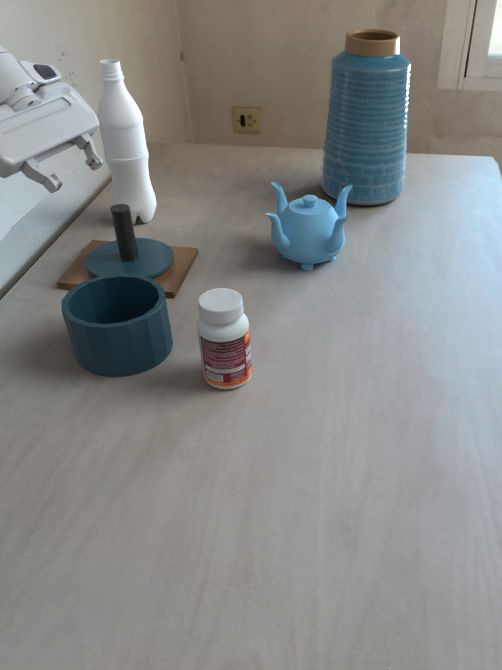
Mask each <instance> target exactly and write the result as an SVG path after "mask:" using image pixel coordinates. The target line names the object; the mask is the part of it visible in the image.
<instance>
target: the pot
mask: <svg viewBox="0 0 502 670" xmlns="http://www.w3.org/2000/svg"><path fill="white" fill-rule="evenodd" d="M60 307H61V309H60V310H61V314H62V318H63V321H64V325H65V327H66V331H67V335H68V337H69V341H70V344H71V348H72V351H73V354H74V357H75V358H76V360H77V362H78V364H79V365H80V366H81V367H82V368H83V369H85V370H86V371H88V372H90V373H92V374H95V375H99V376H103V377H115V378H116V377H129V376H134V375H137V374H141V373H144V372H146V371H149V370H151V369H153V368H155V367H157V366H158V365H160V364H161V363H163V362H164V361H165V360H166V359H167V358H168V356H169V355H170V354H171V352H172V350H173V345H174V341H173V335H172V327H171V322H170V317H169V309H168V303H167V297H165V293H164V288H163V287H162V286H161V285H159V284H158V283H157V282H156V281H155V280H153V279H150V278H147V277H144V276H141V275H135V274H113V275H104V276H99V277H96V278H93V279H90V280H87V281H84V282H82V283H80V284H79V285H77V286H75V287H74V288H72V289H68V291H67V292H66V294H65V295H64V296H63V298H62V299H61V306H60Z"/></svg>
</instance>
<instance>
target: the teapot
mask: <svg viewBox="0 0 502 670" xmlns="http://www.w3.org/2000/svg"><path fill="white" fill-rule="evenodd" d="M270 184H271V186H272V187H273V189H274V192H275V195H276V213H274V212H273V213H271V212H267V213H264V215H265V216H267V217H268V218H269V219H270V223H271V226H270V227H271V228H270V237H271V238H270V239H271V241H272V243H273V244H274V246H275V248H276V250H277V251H278V252H279V253H280V254H281V256H282V258H284V259H288V260H289V261H292V262H295V263H298V264H301V265H300V266H301V267H300V269H302V270H304V271H312V270H313V269H314V268H315V266H314V265H315V264H322V263H326V262H328V261H329V262H333V261H336V259H337V255H338V254H339V253H340V252H341V251H342V250H343V248H344V247H345V244H346V239H345V237H346V236H345V230H344V226H345V222H346V221H348V220H349V217H347V204H346V199H347V195H348V193H349V191H350V190H351V188H352V185H349V186H346V187H345V188H344V189H342V191H341V192H340V194H339V197H338V200H336V204H335V207H333V206H332V204H330V202H328V201H326V200H324V199H322V198H319V197H317V196H316V195H314V194H305V195H303V196H302V197H300V198H296V199H294V200H292V201H290V202H289V203H288V201H287V200H288V199H287V197H286V194H285V191H284V189H283V187H282V186H281V185H280V184H279V183H277V182H275V181H271V182H270Z"/></svg>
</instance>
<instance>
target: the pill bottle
mask: <svg viewBox="0 0 502 670" xmlns="http://www.w3.org/2000/svg"><path fill="white" fill-rule="evenodd" d="M197 307H198V314H199V318H198V319H197V322H196V330H197V338H198V345H199V352H200V357H201V366H202V373H203V377H204V380H205V382H206V383H207V385H209V386H211V387H213V388H215V389H219V390H233V389H237V388H241V387H243V386H244V385H246V384H247V383H248V382H249V381H250V380H251V378H252V375H253V366H252V365H253V364H252V350H251V335H250V324H249V323H250V322H249V319H248V316H247V315H246V314H245V313H244V301H243V296H242V295H241V294H240V293H239V291H237V290H234V289H231V288H227V287H226V288H225V287H218V288H211V289H208V290H206V291H204V292H203V293H202V294H200V295H199V297H198V299H197Z"/></svg>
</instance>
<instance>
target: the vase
mask: <svg viewBox="0 0 502 670" xmlns="http://www.w3.org/2000/svg"><path fill="white" fill-rule="evenodd" d="M400 39H401V37H400V35H399V33H398V32H394V31H391V30H387V29H381V28H380V29H379V28H358V29H353V30H352V29H351V30H349V31H347V32H346V34H345V40H344V49H342V50H340V51H339V52H338V53H336V54H335V55H333V57H332V58H331V60H330V70H329V72H330V74H329V83H328V84H329V85H328V97H327V109H326V119H325V132H324V133H325V134H324V140H323V149H322V152H323V154H322V165H321V177H320V186H321V189H322V191H323V192H324V193H325V194H326V195H327V196H328V197H330V198H332V199H333V200H335V201H337V200H338V197H339V194H340V192H341V191H342V189H344V188H345V187H346V186H349V185H352V188H351V190H350V191H349V193H348V195H347V199H346V205H347V204H348V205H351V206H359V207H370V206H371V207H372V206H373V207H374V206H379V205H383V204H384V205H385V204H387V203H389V202H391V201H394V200H395V199H397V198H399V197H400V196H401V195H402V194H403V193H404V190H405V176H406V165H407V160H406V159H407V158H406V157H407V147H408V144H407V141H408V138H407V137H408V124H409V122H408V120H409V108H410V107H409V104H410V87H411V83H410V82H411V70H412V63H411V60H410V59H409V58H407V56H405V54H403V52H401V51H400V44H401V43H400V42H401V41H400Z"/></svg>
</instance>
